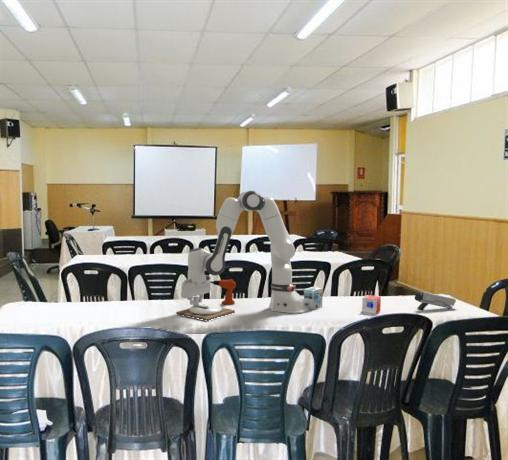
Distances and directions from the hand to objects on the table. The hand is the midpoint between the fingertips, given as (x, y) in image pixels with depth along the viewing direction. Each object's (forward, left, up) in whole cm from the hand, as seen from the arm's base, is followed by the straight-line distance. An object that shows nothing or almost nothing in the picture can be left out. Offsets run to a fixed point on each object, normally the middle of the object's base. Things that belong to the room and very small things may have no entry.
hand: (196, 303), depth 259 cm
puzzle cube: (-75, -61, -5) cm, 97 cm away
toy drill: (+1, -22, -5) cm, 23 cm away
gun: (-102, -88, -5) cm, 135 cm away
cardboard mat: (-7, 0, -5) cm, 8 cm away
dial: (-7, 0, -3) cm, 8 cm away
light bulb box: (-45, -49, -5) cm, 67 cm away
